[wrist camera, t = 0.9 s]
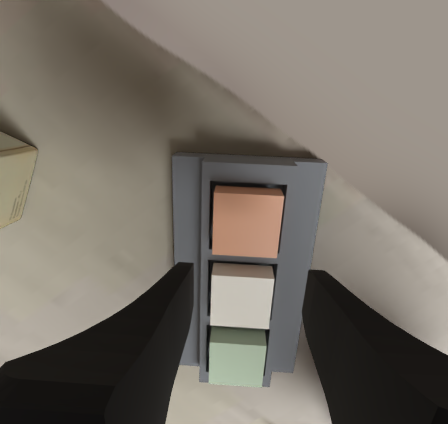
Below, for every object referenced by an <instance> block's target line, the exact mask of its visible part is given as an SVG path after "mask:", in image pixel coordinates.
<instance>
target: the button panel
mask: <svg viewBox="0 0 448 424" xmlns="http://www.w3.org/2000/svg"><path fill="white" fill-rule="evenodd" d="M327 165H328V163H327V162H325V161H324V160H322V159H311V158H290V157H269V156H247V155H226V154H205V153H184V152H176V153H175V154H174V155H172V181H173V223H174V265H176V264H177V263H178V262H189V263H194V307H193V313H192V319H191V324H190V329H189V333H188V336H187V340H186V343H185V347H184V350H183V353H182V357H181V360H180V363H179V365H189V366H200V373H199V382H207V383H209V351H210V336H211V328H212V325H210V315H211V279H212V270H213V264H214V263H231V264H247V265H264V266H272V269H273V274H274V287H273V296H272V305H271V313H270V322H269V329H263V330H265V336H266V345H267V347H266V356H265V365H264V373H263V382H262V387H270V380H271V372H272V371H274V372H288V373H293V371H294V365H295V359H296V353H297V346H298V340H299V334H300V328H301V322H302V307H303V300H304V294H305V288H306V282H307V276H308V270H310V268H311V262H312V256H313V249H314V243H315V237H316V231H317V225H318V219H319V213H320V207H321V201H322V195H323V189H324V183H325V177H326V171H327ZM216 185H219V186H239V187H258V188H278V189H281V191H282V193H283V195H284V202H283V210H282V219H281V227H280V236H279V245H278V253H277V258H263V257H246V256H229V255H212V243H213V207H214V191H215V187H216ZM218 327H227V326H218ZM233 328H242V327H233ZM248 329H258V328H248Z"/></svg>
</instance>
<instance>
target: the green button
mask: <svg viewBox="0 0 448 424" xmlns="http://www.w3.org/2000/svg"><path fill="white" fill-rule="evenodd" d="M266 347H267V345H266V336H265V330H263V329H248V328H233V327H218V326H212V328H211V336H210V351H209V384H219V385H233V386H247V387H261V388H262V382H263V373H264V365H265V356H266Z"/></svg>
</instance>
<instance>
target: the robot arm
mask: <svg viewBox="0 0 448 424" xmlns="http://www.w3.org/2000/svg"><path fill="white" fill-rule="evenodd" d="M193 307H194V263H189V262H178V263H177V264H176V265H175V266H174V267H172V268H171V269H170V270H169V271H168V272H167V273H166V274H165V275H164V276H163V277H162V278H161V279H160V280H159V281H158V282H156V283H155V284H154V285H153V286H152V287H151V288H150V289H149V290H147V291H146V292H145V293H144V294H142V295H141V296H140V297H139V298H137V299H136V300H135V301H133V302H132V303H131V304H129V305H128V306H126V307H125V308H123V309H122V310H120V311H119V312H117V313H116V314H114V315H112V316H111V317H109V318H107V319H105V320H103V321H102V322H100V323H98V324H96V325H94V326H92V327H91V328H89V329H87V330H85V331H83V332H81V333H79V334H77V335H74V336H72V337H70V338H68V339H66V340H63V341H61V342H59V343H56V344H54V345H52V346H49V347H47V348H44V349H41V350H39V351H36V352H33V353H30V354H28V355H25V356H22V357H19V358H17V359H14V360H11V361H8V362H5V363H4V364H3V365H2V366H1V367H0V424H165V422H166V417H167V412H168V407H169V401H170V396H171V392H172V388H173V384H174V380H175V377H176V374H177V370H178V367H179V363H180V360H181V357H182V353H183V350H184V347H185V343H186V340H187V336H188V333H189V329H190V324H191V319H192V313H193ZM302 317H303V323H304V328H305V334H306V338H307V341H308V344H309V347H310V350H311V353H312V356H313V359H314V363H315V366H316V369H317V372H318V375H319V378H320V381H321V384H322V387H323V390H324V393H325V397H326V400H327V404H328V407H329V412H330V416H331V421H332V424H448V355H446V354H444V353H442V352H441V351H439V350H437V349H435V348H433V347H431V346H429V345H427V344H426V343H424V342H422V341H420V340H419V339H417V338H415V337H414V336H412V335H410V334H409V333H407V332H406V331H404V330H402V329H401V328H399V327H398V326H396V325H394V324H393V323H391V322H390V321H388V320H387V319H386V318H384V317H383V316H381V315H380V314H379V313H377V312H376V311H374V310H373V309H372V308H370V307H369V306H368V305H366V304H365V303H364V302H363V301H361V300H360V299H359V298H357V297H356V296H355V295H354V294H353V293H351V292H350V291H349V290H348V289H346V288H345V287H344V286H343V285H342V284H340V283H339V282H338V281H337V280H336V279H334V278H333V277H332V276H331V275H330V274H328V273H327V272H326V271H324V270H308V276H307V282H306V288H305V294H304V300H303V307H302Z"/></svg>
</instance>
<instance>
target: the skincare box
mask: <svg viewBox="0 0 448 424" xmlns="http://www.w3.org/2000/svg"><path fill="white" fill-rule="evenodd" d="M37 153H38V150H37V149H36V148H34V147H32V146H30V145H28V144H26V143H24V142H22V141H20V140H18V139H16V138H13V137H11V136H9V135H7V134H5V133H3V132H1V131H0V229H1V228H3V227H5V226H7V225H9V224H11V223H13V222H15V221H18V220H19V219H20V218H21V216H22V212H23V208H24V205H25V201H26V197H27V193H28V190H29V186H30V182H31V178H32V174H33V170H34V166H35V162H36V157H37Z"/></svg>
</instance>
